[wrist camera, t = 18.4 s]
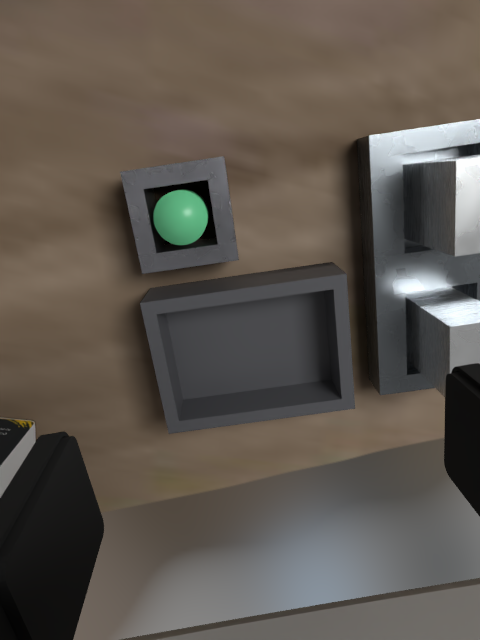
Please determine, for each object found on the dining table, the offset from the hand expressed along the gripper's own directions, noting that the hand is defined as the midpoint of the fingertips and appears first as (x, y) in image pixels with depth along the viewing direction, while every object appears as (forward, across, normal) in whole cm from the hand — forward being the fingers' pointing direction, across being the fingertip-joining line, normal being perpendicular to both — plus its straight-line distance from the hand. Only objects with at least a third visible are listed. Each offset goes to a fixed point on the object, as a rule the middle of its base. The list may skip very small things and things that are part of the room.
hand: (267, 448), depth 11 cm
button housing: (+26, +3, -4) cm, 26 cm away
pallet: (+25, -16, +3) cm, 30 cm away
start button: (+25, +3, -4) cm, 25 cm away
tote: (+25, -1, +7) cm, 26 cm away
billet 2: (+24, -15, +8) cm, 29 cm away
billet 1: (+24, -16, -2) cm, 29 cm away
